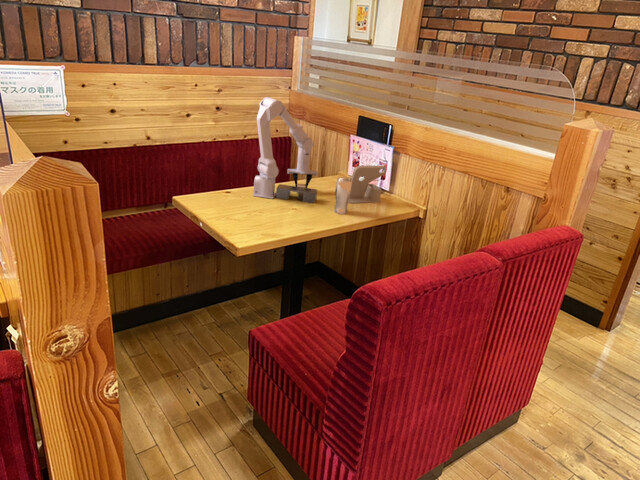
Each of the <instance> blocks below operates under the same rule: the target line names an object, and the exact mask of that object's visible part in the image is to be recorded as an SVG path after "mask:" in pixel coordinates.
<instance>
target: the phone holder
mask: <svg viewBox="0 0 640 480" xmlns="http://www.w3.org/2000/svg"><path fill="white" fill-rule="evenodd" d="M381 170H382V171H381ZM386 172H387V168H386V167H385V165H357V166H355V168H354V170H353V172H352V175H351V178H350V179H351V180H352V189H351V194H350V198H349V201H348V204H352V205H353V204H354V205H355V204H371V203H372V204H373V203H374V204H376V203H377V204H379V203H381V195H382V188H381V187H379V186H377V184H374V183H371V182H374V181H375V180H377V179H379V178H381V177H382V176H384V175H385V174H386ZM361 177H364V179H362V180H360V178H361Z"/></svg>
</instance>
